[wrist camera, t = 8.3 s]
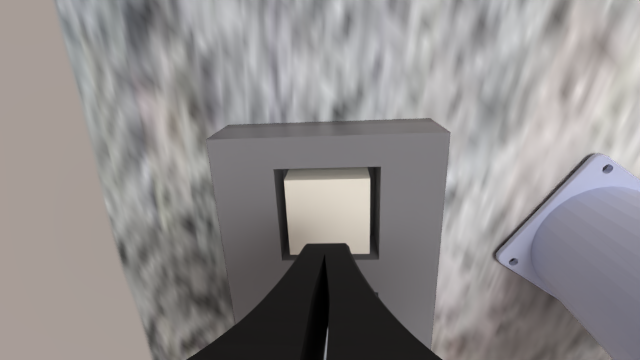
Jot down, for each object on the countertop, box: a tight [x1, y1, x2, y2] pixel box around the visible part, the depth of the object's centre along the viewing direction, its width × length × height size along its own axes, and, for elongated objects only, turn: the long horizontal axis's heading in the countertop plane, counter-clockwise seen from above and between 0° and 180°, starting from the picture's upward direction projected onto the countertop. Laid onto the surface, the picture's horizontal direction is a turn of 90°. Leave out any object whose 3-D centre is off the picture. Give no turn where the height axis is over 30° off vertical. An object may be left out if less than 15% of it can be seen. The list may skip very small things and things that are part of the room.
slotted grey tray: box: [206, 118, 450, 350], centre depth 21 cm, size 22×11×4 cm, turn 2°
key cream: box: [284, 167, 370, 255], centre depth 18 cm, size 4×4×2 cm
